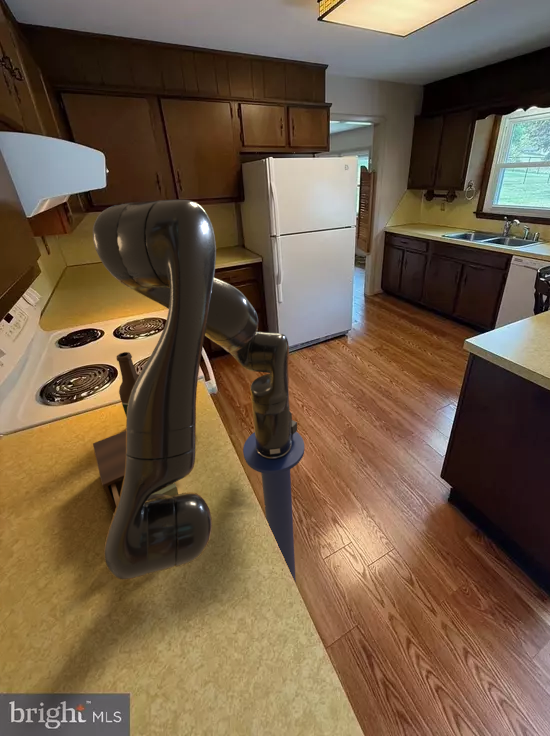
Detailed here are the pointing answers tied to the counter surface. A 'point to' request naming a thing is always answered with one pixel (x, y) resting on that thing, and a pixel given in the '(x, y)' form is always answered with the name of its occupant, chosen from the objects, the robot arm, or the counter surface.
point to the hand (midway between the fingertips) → (151, 515)
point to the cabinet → (111, 462)
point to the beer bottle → (126, 378)
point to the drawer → (166, 490)
